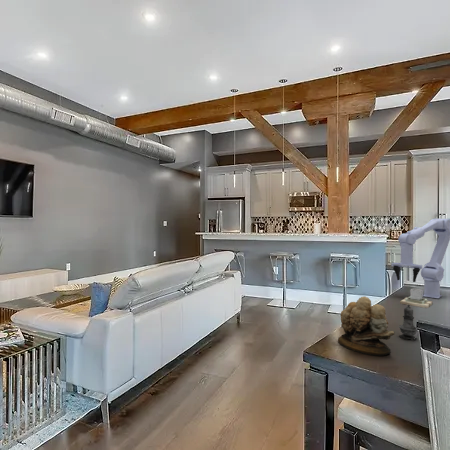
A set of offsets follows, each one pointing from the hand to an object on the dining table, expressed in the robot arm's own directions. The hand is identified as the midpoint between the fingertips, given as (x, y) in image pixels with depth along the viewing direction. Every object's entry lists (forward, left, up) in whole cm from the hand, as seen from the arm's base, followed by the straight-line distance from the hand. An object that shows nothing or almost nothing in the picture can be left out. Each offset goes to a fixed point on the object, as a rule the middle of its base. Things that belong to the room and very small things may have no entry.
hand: (406, 280), depth 176 cm
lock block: (+9, +7, -8) cm, 14 cm away
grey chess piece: (+65, +17, -10) cm, 68 cm away
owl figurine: (+85, +9, -10) cm, 86 cm away
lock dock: (+9, +7, -9) cm, 15 cm away
